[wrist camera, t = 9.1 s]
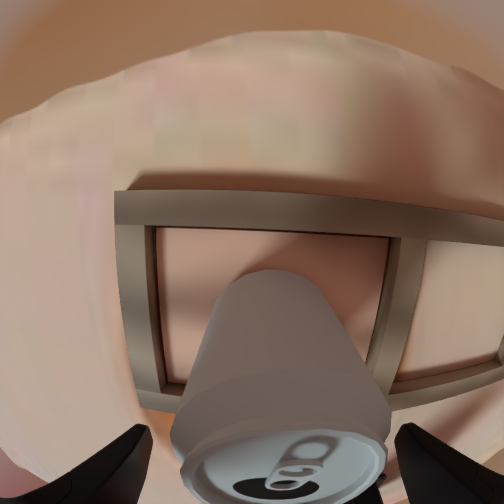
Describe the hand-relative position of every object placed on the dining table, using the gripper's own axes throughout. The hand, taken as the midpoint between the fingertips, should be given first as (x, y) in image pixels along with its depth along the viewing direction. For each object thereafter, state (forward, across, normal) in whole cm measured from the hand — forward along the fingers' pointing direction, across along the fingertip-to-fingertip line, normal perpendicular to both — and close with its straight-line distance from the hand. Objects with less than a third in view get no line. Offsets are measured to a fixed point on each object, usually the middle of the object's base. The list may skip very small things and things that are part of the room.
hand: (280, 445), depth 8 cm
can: (+10, 0, 0) cm, 10 cm away
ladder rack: (+10, -9, 0) cm, 13 cm away
